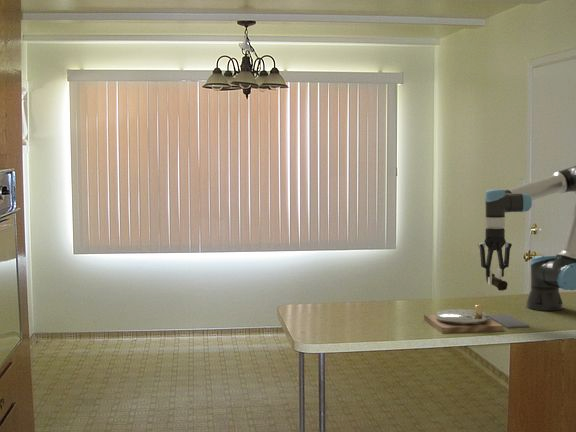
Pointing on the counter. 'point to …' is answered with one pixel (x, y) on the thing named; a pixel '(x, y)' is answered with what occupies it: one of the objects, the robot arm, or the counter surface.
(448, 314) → the dial
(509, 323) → the mat
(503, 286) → the hand tool
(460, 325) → the board
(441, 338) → the counter surface
